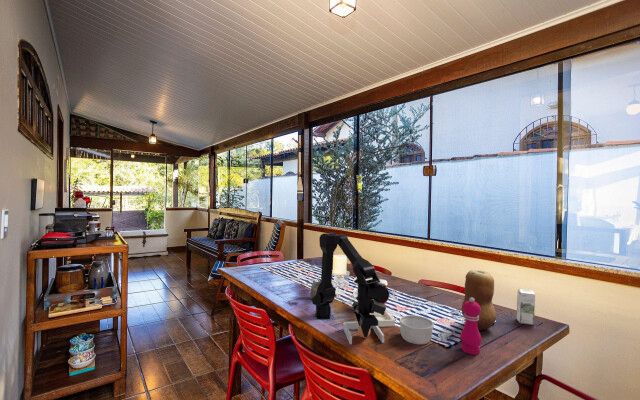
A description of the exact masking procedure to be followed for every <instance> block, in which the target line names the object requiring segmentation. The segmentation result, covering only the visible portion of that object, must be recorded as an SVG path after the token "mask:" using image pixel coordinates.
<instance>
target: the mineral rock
mask: <svg viewBox="0 0 640 400" xmlns="http://www.w3.org/2000/svg"><path fill="white" fill-rule="evenodd" d="M320 283H321V280H319V281H312V284H311V287H310V292H309V298H310V300H312V299H313V297H314V296H315V295H316V293H317V288H318V286H319V285H320ZM337 296H338V295H337V294H336V296H335V298H336V297H337Z"/></svg>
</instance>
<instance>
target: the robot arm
mask: <svg viewBox="0 0 640 400" xmlns="http://www.w3.org/2000/svg"><path fill="white" fill-rule="evenodd" d="M348 238H349V237H348V235H346V234H337V233H335V232H327V233H322V234H320V236H319V240H318V241H319V248H320V249H321V252H322V255H321V257H322V258H321V271H320V272H321V275H320V281H321V283H320V285H319V286H318V288H317V293H316V295H315V296H314V297H313V299H311V301H312V305H314V306H315V312H314V315H315V319H316V320H324V319H329V320H330V319H331V314H332V312H331V311H332V306H331V304H333V302H334V299H335V298H336V297H337V296H336V295H337V294H336V291H337V290H336V289H337V288H336V287H334V285H333V282H332V281H333V265H334V253H335V251H336V250H337V248H338V247H339V248H340V250H341V251H342V252H343V254H344V255H345V257H346V258H347V259H348V261H349V262H350V263H351V265H352V271H353V273H354V276H355V277H356V279H354V280H353V283H355V284H357V296H356V298H355V299H356V300H357V301H353V302H352V304H351V308H352V310H353V314H354V316H355V319H356V322H358V324H359V326H361V329H362V332H363V335H364V337H363V338H368V337H369V336H368V333H369V330H370V331H371V329H370V327H371V326H378V319H377V318H376V317H375V316H374V315H370V313H371V314H372V313H374V312H376V313H379V314H381V315H384V313H385V311H387V307H386V305H385V306H384V305H383V304H382V303H385V302H386V303H388V302H387V301H388V300H389V298H390V291H389V289H388V287H387V288H386V285H385V284H380V283H379V282H380V280H379V279H380V277H379V276H378V273H377V272H376V268H375V267H374V265H373V264H372V263H371V262H370V261H369V260H367V259H365V258H363V257H362V256H361V254H360V253H359V251H358V250H357V249H356V248H355V246H354V245H353V244H352V242H351V241H350V239H348ZM335 296H336V297H335ZM380 302H381V303H380ZM367 336H368V337H367Z"/></svg>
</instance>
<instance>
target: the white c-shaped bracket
mask: <svg viewBox="0 0 640 400" xmlns="http://www.w3.org/2000/svg"><path fill="white" fill-rule="evenodd" d="M342 325H343V326H342V328H343V332H344V334H345V337H346V338H347V341H348V343H349V345H352V343H353V336H352V333H351V332H350V330H351V331H352V330H358V327H359V324H358V322H357V321H343V323H342ZM370 330H373V331H374V333H375V334H376V336H377V338H378V339H379V341H380V342H381V344H384V343H385V334H384V333H383V332H382V330H381V328H380V327H378V326H371V327H370Z"/></svg>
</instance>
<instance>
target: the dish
mask: <svg viewBox="0 0 640 400" xmlns="http://www.w3.org/2000/svg"><path fill="white" fill-rule="evenodd" d="M370 315H374V316H375V317H376V318H377V319H378V327H379V328H381V327H384V328H385V327H395V325H396V321H395V318H394V317H393V316H392V315H391V314H390V313H389V311H387V310H385V313H384V315H381V314H379V313H376V312H374V313H372V314H371V313H370Z"/></svg>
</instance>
